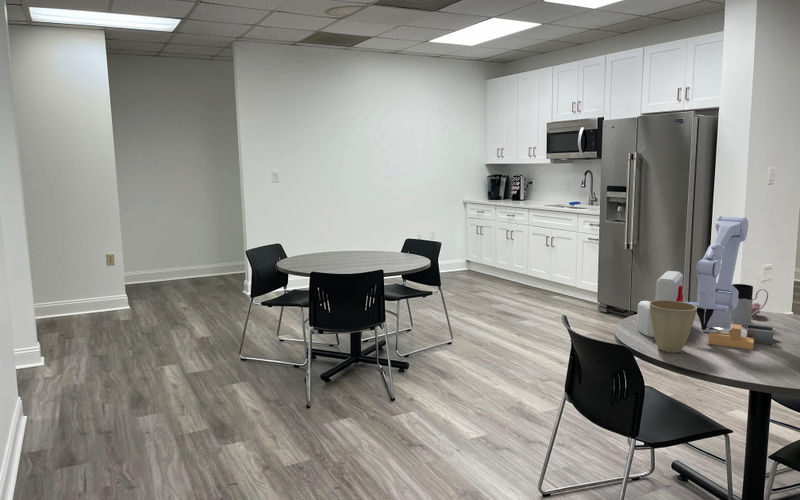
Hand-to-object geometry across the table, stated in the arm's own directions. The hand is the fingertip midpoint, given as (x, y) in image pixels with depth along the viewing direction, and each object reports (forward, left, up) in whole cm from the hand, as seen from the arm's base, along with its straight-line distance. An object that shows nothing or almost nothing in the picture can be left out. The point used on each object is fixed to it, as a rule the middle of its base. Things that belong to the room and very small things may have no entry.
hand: (703, 329), depth 218 cm
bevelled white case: (-13, +18, -4) cm, 23 cm away
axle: (+7, 0, -2) cm, 7 cm away
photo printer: (-19, 0, -4) cm, 20 cm away
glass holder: (+14, +36, -4) cm, 39 cm away
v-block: (+18, +11, -4) cm, 21 cm away
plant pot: (-9, -17, -4) cm, 20 cm away
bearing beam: (+8, 0, -4) cm, 9 cm away
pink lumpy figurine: (+16, +48, -5) cm, 51 cm away
